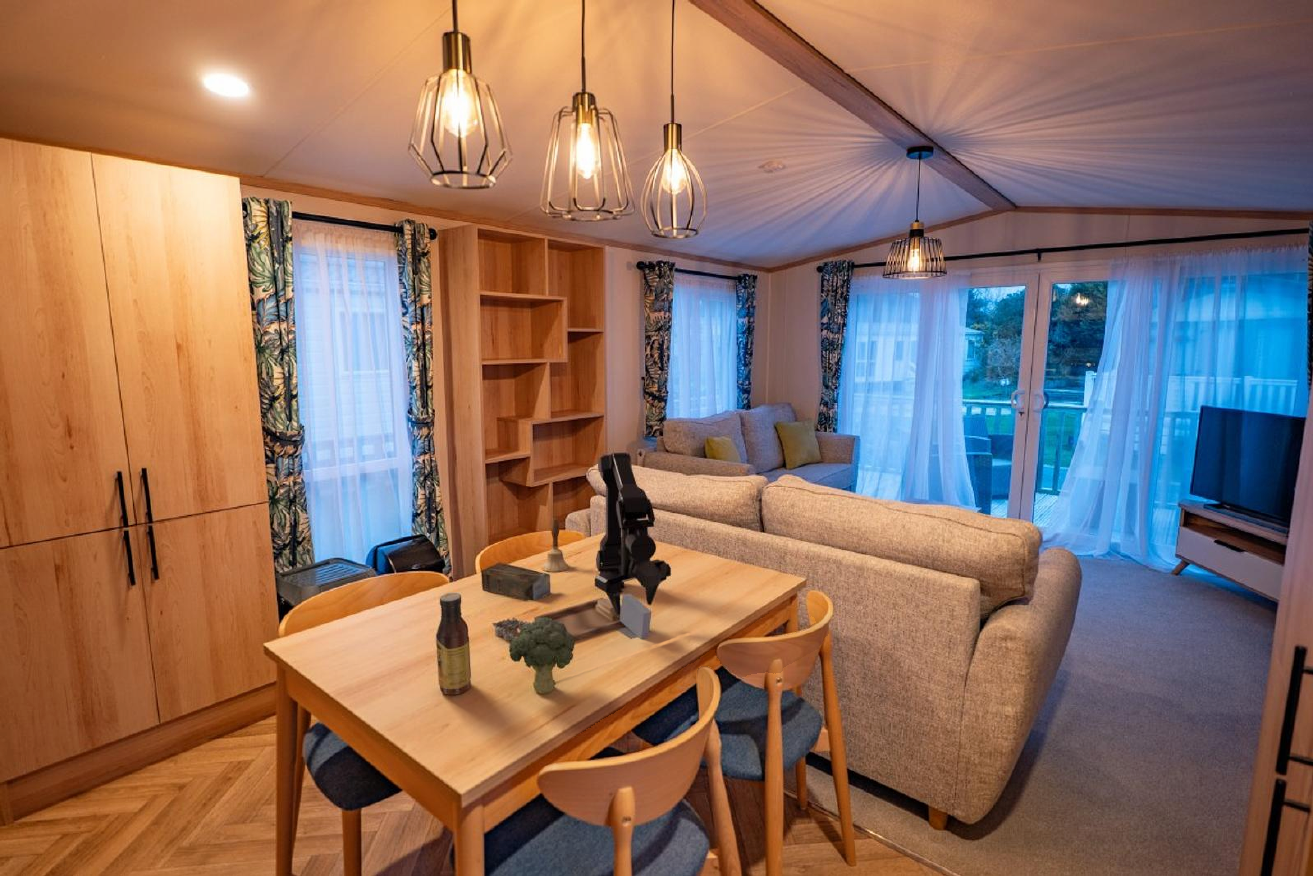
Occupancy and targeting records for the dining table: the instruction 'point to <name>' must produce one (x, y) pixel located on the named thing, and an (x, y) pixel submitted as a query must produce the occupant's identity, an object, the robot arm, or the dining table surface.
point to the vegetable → (543, 650)
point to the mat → (627, 632)
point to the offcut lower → (606, 614)
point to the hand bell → (555, 552)
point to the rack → (582, 620)
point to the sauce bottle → (453, 647)
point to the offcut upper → (606, 605)
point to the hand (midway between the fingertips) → (633, 609)
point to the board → (635, 616)
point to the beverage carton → (515, 581)
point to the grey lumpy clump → (508, 628)
